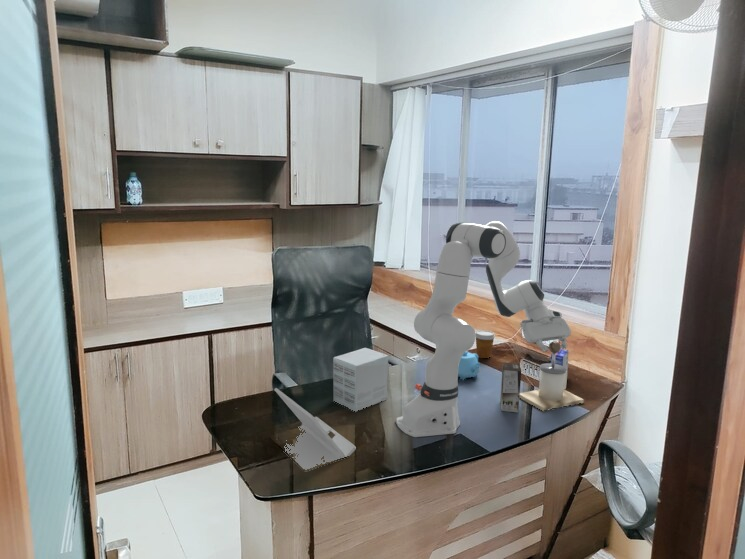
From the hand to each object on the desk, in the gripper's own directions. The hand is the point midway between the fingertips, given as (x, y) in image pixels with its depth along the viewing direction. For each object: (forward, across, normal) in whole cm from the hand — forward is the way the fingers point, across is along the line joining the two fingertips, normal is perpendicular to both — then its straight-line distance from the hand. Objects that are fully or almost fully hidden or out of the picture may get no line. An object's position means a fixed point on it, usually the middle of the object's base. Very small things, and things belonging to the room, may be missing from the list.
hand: (555, 349), depth 197 cm
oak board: (+14, 0, +15) cm, 21 cm away
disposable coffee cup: (-22, +6, +52) cm, 57 cm away
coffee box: (+14, -19, +16) cm, 28 cm away
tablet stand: (+14, -96, +16) cm, 99 cm away
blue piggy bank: (-10, -18, +39) cm, 44 cm away
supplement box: (-5, -69, +34) cm, 77 cm away
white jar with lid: (+13, 0, +14) cm, 19 cm away
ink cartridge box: (+3, +19, +27) cm, 33 cm away
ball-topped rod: (+5, 0, +6) cm, 7 cm away
